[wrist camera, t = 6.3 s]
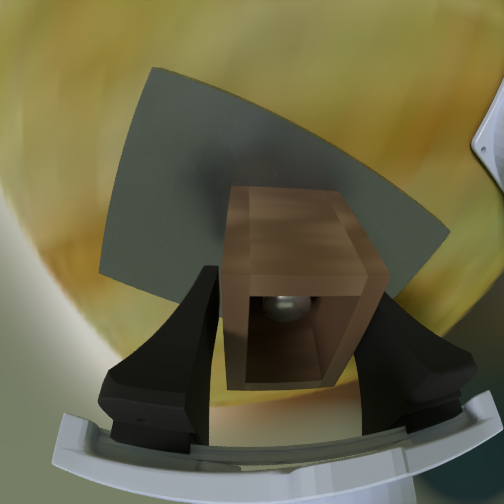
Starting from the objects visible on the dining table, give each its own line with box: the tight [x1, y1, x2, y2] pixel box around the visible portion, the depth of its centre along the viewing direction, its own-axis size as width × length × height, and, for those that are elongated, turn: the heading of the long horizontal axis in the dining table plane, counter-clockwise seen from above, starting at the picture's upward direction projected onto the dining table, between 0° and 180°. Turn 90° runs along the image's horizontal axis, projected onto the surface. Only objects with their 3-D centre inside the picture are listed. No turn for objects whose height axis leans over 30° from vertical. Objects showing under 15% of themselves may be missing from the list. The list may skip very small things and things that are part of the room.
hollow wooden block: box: [221, 186, 391, 391], centre depth 12 cm, size 5×7×6 cm
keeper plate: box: [99, 67, 451, 322], centre depth 13 cm, size 18×12×5 cm, turn 64°
